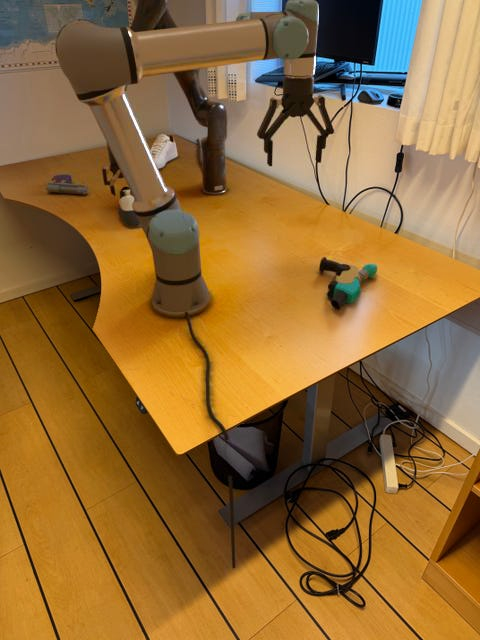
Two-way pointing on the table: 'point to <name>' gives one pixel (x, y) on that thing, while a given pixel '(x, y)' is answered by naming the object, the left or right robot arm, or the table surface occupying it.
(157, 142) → the sneaker
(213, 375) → the table surface
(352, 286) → the toy gun
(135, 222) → the ballet flat
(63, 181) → the toy gun
